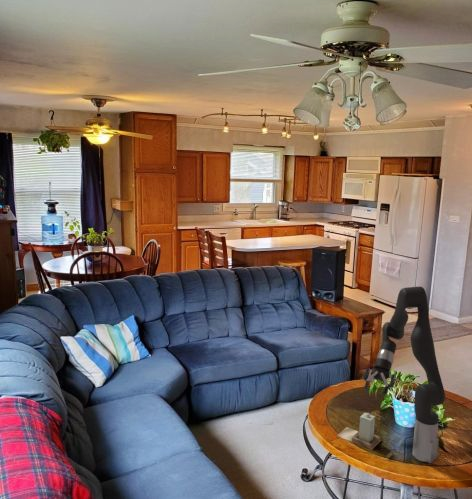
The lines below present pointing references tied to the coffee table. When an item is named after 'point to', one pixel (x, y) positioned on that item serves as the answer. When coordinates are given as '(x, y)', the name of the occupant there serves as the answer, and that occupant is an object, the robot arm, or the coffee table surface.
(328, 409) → the coffee table surface
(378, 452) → the coffee table surface
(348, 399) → the coffee table surface
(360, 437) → the cabinet block
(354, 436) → the mount board
